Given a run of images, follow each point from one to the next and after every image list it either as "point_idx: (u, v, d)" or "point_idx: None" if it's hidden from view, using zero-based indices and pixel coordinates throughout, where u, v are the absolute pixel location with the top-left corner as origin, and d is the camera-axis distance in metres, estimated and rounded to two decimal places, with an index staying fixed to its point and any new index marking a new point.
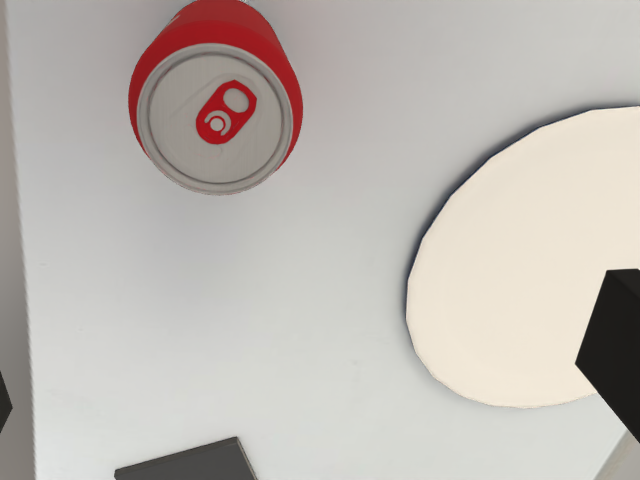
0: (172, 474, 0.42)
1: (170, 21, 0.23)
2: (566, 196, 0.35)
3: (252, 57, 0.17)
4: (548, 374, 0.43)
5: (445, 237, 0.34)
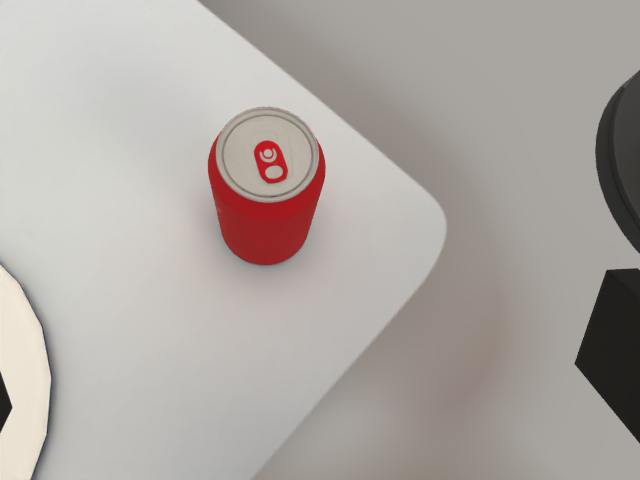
0: None
1: None
2: None
3: (291, 195, 0.26)
4: None
5: (2, 303, 0.33)
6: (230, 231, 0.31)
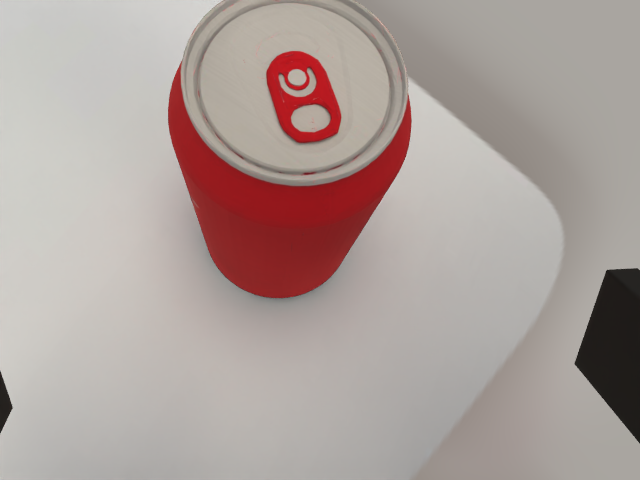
0: None
1: None
2: None
3: (351, 169, 0.11)
4: None
5: None
6: (217, 244, 0.17)
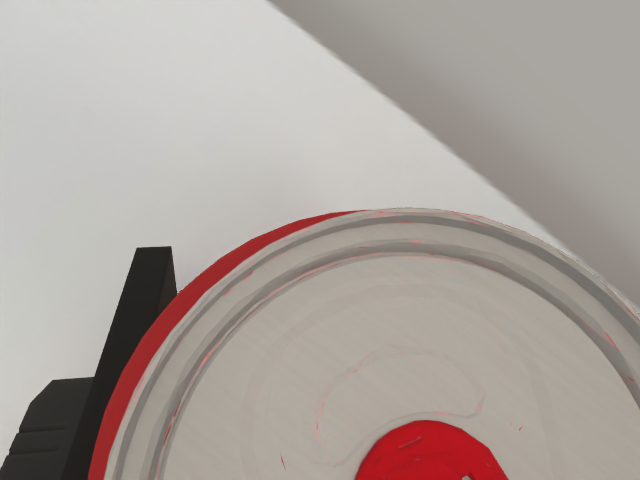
0: None
1: None
2: None
3: None
4: None
5: None
6: None
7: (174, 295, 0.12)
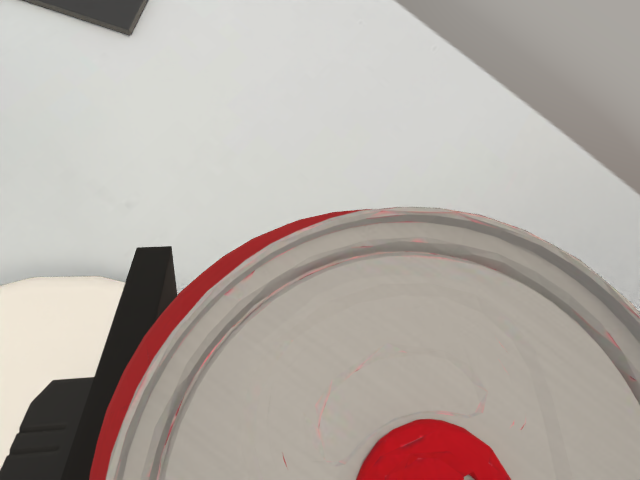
0: None
1: None
2: None
3: None
4: None
5: None
6: None
7: (174, 295, 0.12)
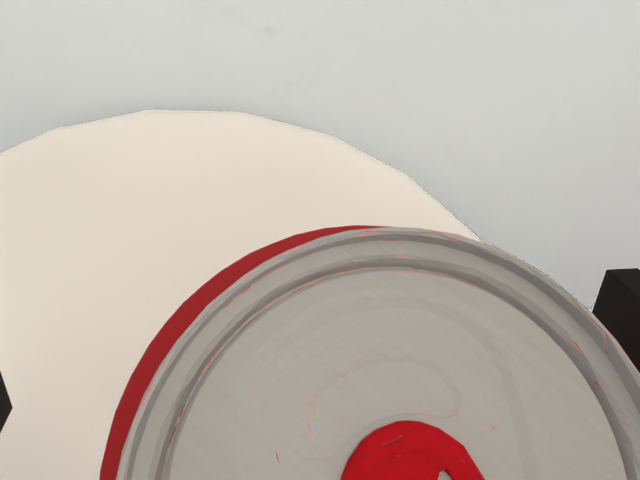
0: None
1: None
2: None
3: None
4: None
5: None
6: None
7: None
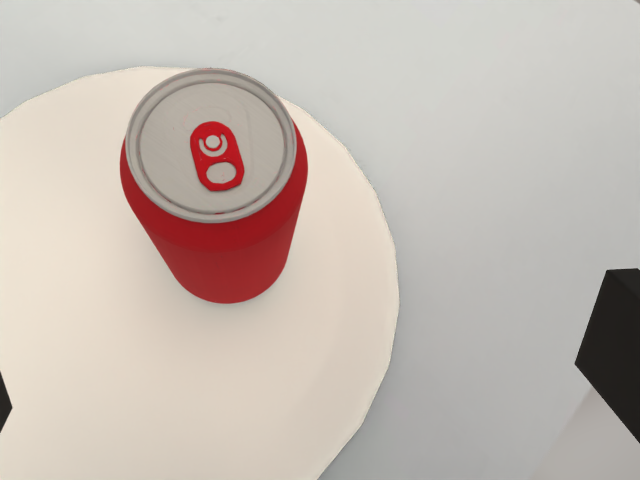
0: None
1: None
2: (286, 312, 0.28)
3: (248, 211, 0.16)
4: (5, 192, 0.28)
5: (330, 166, 0.30)
6: (166, 260, 0.21)
7: None
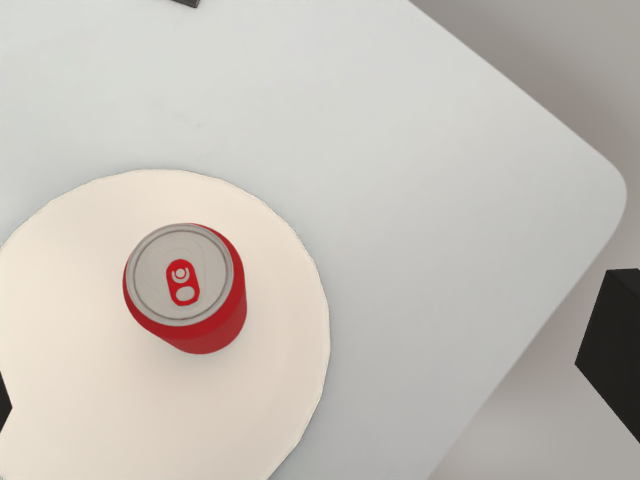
0: None
1: None
2: (246, 357, 0.38)
3: (201, 318, 0.25)
4: (38, 270, 0.37)
5: (281, 245, 0.40)
6: None
7: None
